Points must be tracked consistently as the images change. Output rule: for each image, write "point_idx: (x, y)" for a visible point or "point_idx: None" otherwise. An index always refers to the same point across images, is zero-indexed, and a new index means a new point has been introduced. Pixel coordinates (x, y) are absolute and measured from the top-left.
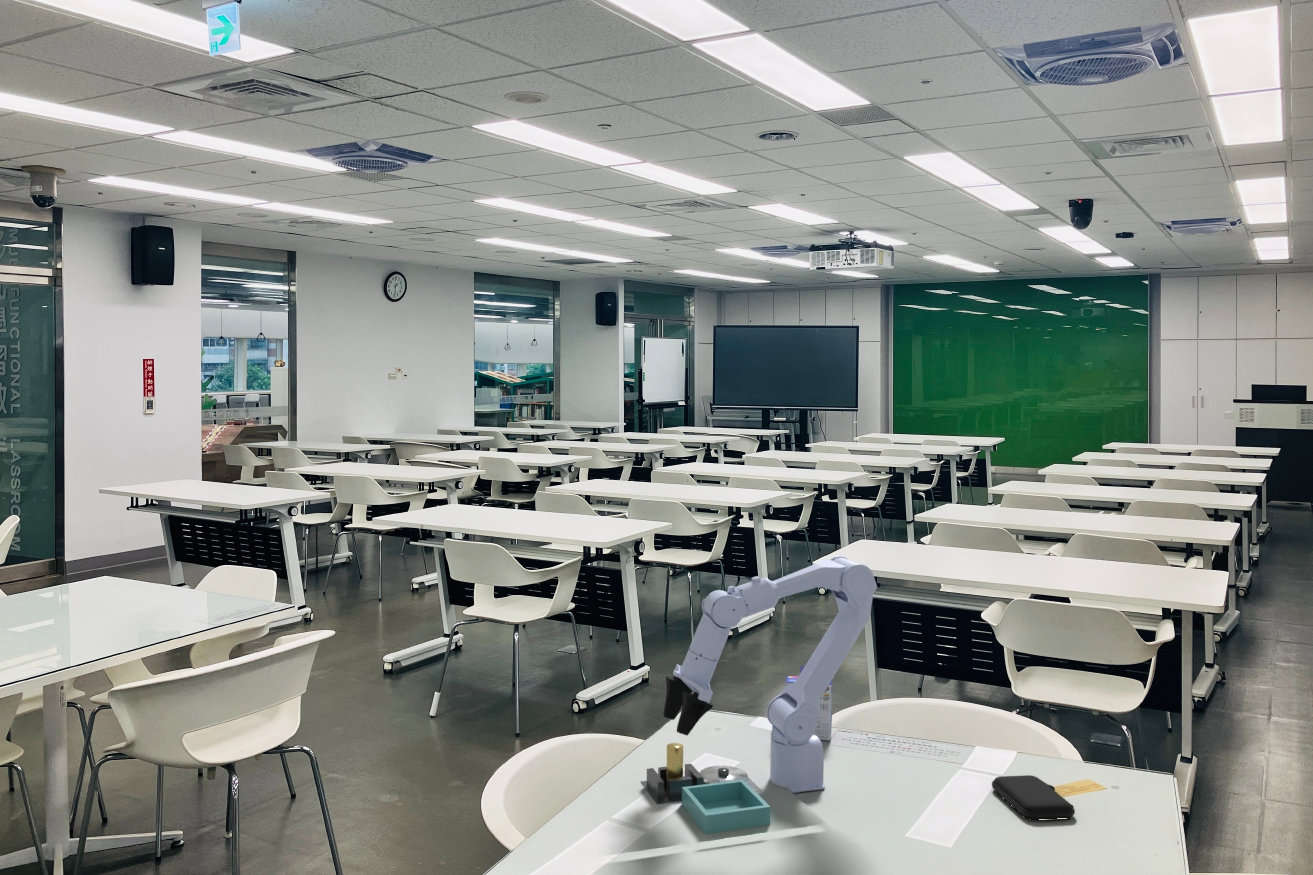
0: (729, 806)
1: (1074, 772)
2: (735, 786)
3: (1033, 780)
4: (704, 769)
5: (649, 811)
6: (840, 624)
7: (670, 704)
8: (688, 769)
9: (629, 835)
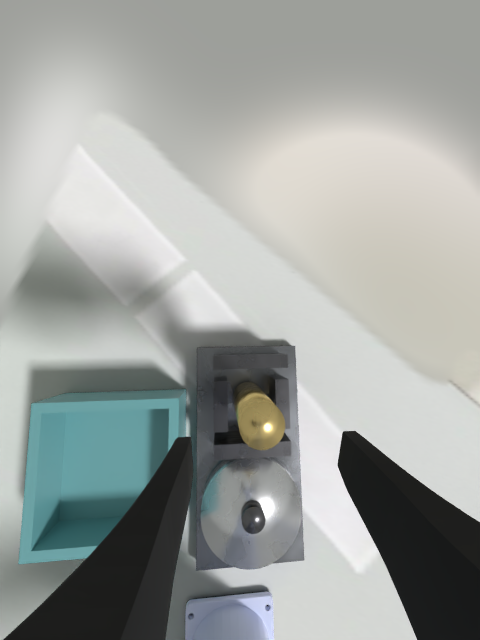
0: (147, 477)
1: None
2: None
3: None
4: (289, 480)
5: (195, 333)
6: None
7: (378, 488)
8: None
9: (122, 278)
